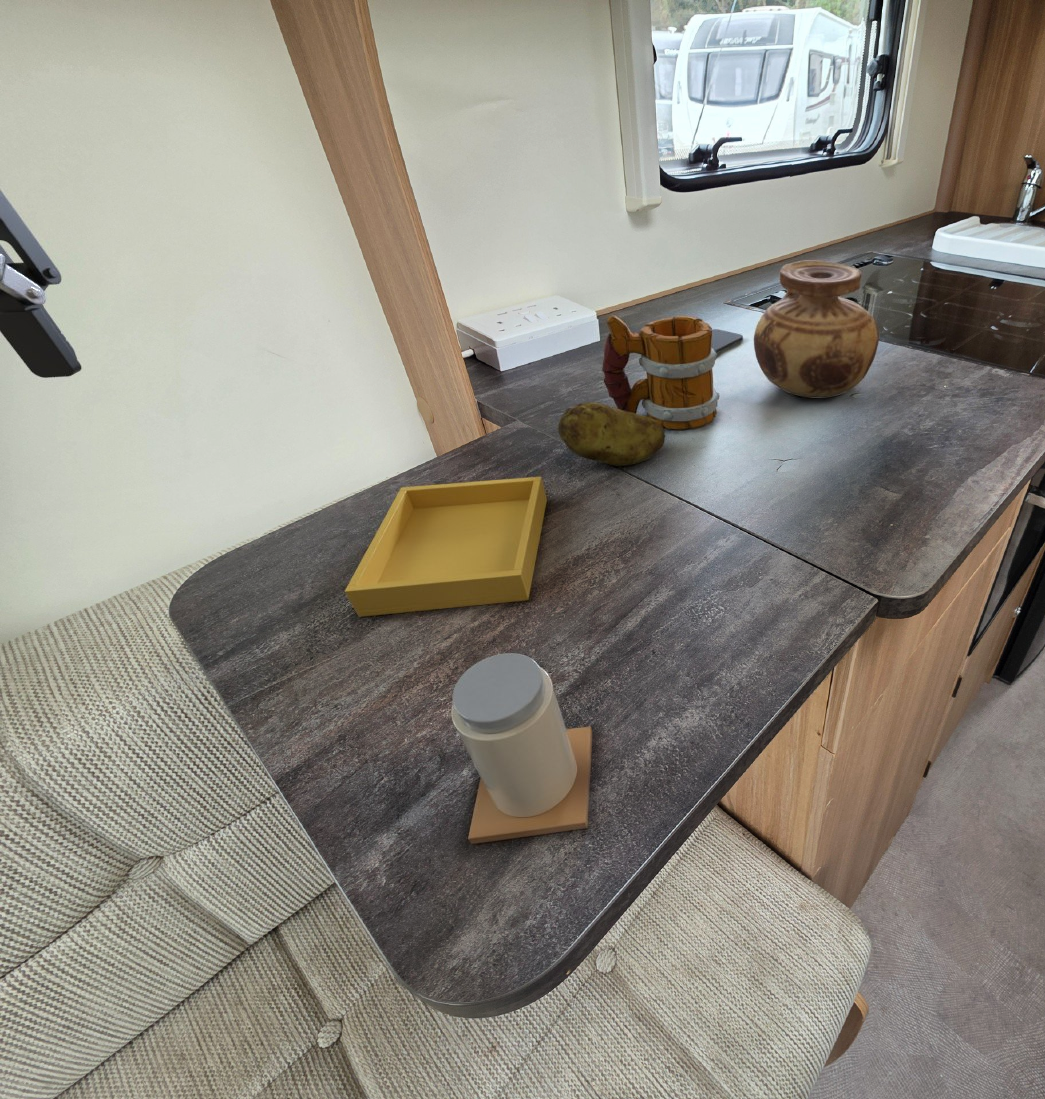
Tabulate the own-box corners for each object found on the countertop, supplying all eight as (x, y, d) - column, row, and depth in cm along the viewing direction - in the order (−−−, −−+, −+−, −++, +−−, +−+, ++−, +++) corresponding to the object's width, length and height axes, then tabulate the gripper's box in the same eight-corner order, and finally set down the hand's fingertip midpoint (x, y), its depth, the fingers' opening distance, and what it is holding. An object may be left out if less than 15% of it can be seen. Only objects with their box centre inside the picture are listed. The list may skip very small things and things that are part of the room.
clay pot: (910, 380, 90) (886, 252, 77) (804, 441, 91) (760, 324, 77) (850, 338, 104) (820, 223, 91) (758, 390, 105) (714, 284, 91)
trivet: (587, 828, 40) (585, 822, 40) (471, 844, 39) (467, 838, 39) (592, 732, 46) (590, 726, 46) (491, 744, 45) (488, 738, 45)
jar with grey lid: (558, 823, 40) (523, 734, 33) (474, 811, 40) (424, 721, 34) (588, 745, 44) (563, 653, 38) (512, 735, 45) (475, 643, 39)
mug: (726, 426, 86) (725, 320, 76) (611, 439, 83) (595, 330, 74) (713, 395, 94) (710, 296, 84) (608, 406, 91) (592, 304, 82)
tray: (528, 600, 58) (520, 574, 56) (358, 617, 56) (344, 591, 54) (547, 499, 71) (541, 476, 69) (411, 511, 70) (400, 487, 68)
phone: (745, 335, 113) (697, 359, 103) (745, 339, 113) (698, 364, 104) (714, 328, 116) (664, 350, 106) (714, 332, 117) (665, 355, 107)
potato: (664, 475, 75) (658, 417, 70) (562, 478, 75) (549, 420, 70) (667, 443, 82) (662, 388, 77) (573, 446, 82) (562, 390, 77)
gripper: (-497, -30, 17) (-32, 467, 27) (-52, 11, 28) (159, 353, 38) (-832, -32, 16) (-223, 480, 26) (-238, 11, 27) (28, 360, 37)
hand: (3, 405), depth 32 cm, fingers open, 8 cm apart
